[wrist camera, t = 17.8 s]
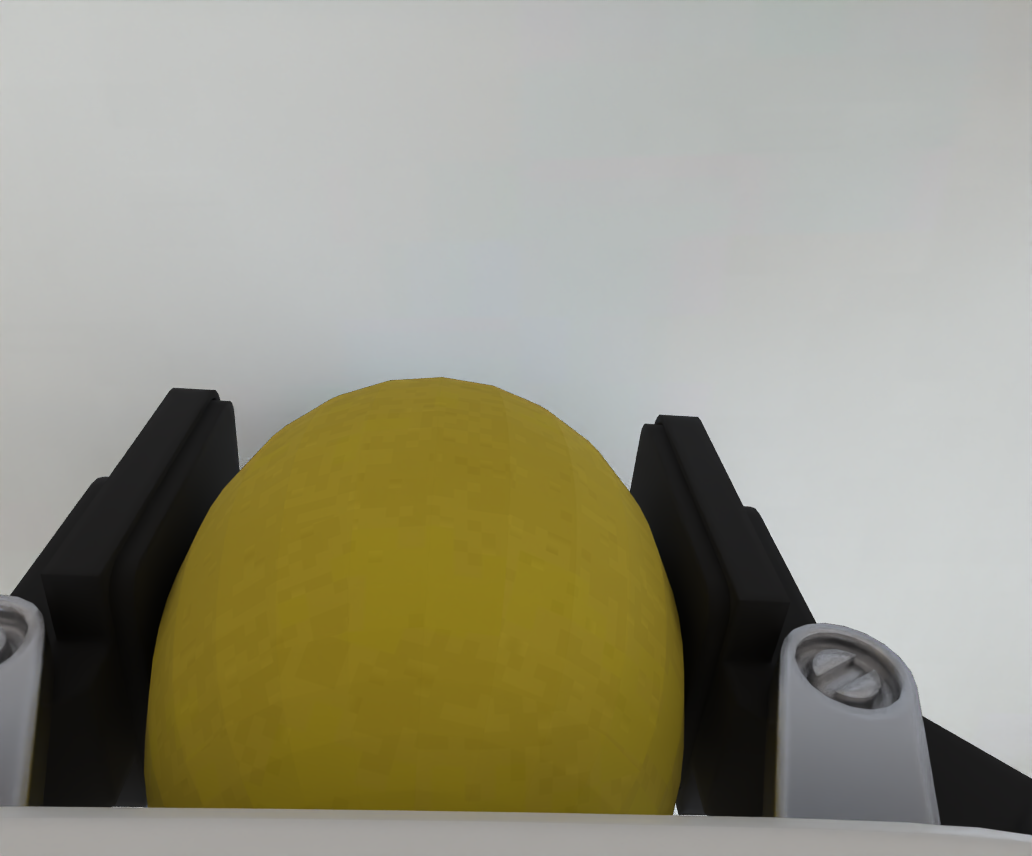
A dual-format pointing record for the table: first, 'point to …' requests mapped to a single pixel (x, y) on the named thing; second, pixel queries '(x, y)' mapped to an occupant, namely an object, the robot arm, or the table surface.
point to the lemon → (420, 621)
